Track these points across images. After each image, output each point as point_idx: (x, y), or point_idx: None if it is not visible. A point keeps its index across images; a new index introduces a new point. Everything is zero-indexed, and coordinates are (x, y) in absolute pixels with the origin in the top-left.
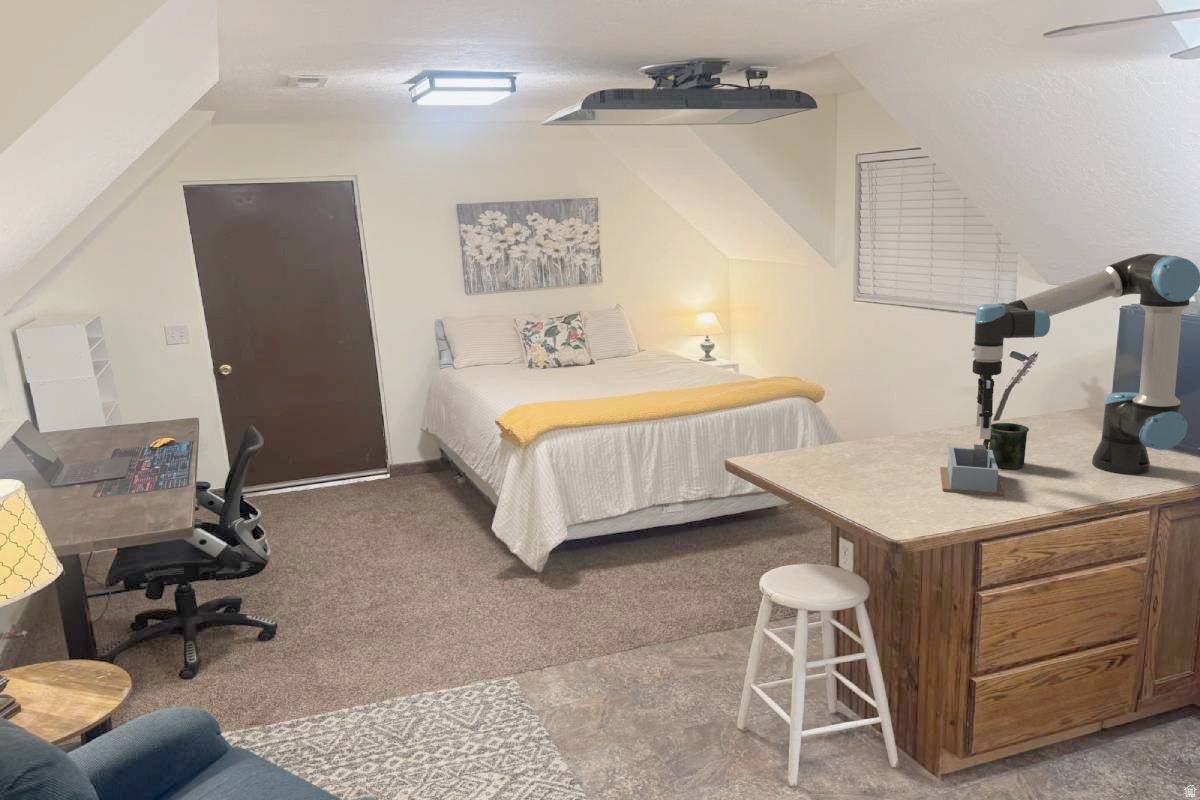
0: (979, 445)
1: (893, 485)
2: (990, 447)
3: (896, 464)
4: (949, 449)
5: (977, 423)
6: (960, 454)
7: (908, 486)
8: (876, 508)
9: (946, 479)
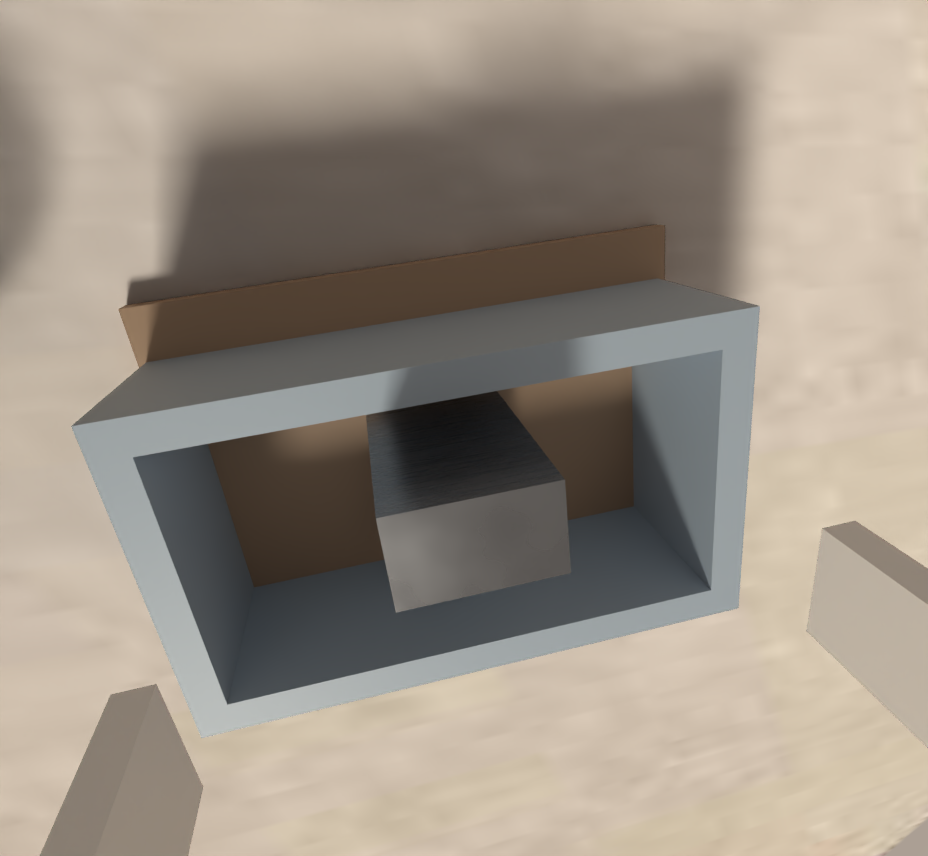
0: (419, 562)
1: (630, 735)
2: None
3: (271, 822)
4: (261, 718)
5: (185, 822)
6: (220, 623)
7: (625, 685)
8: None
9: None
